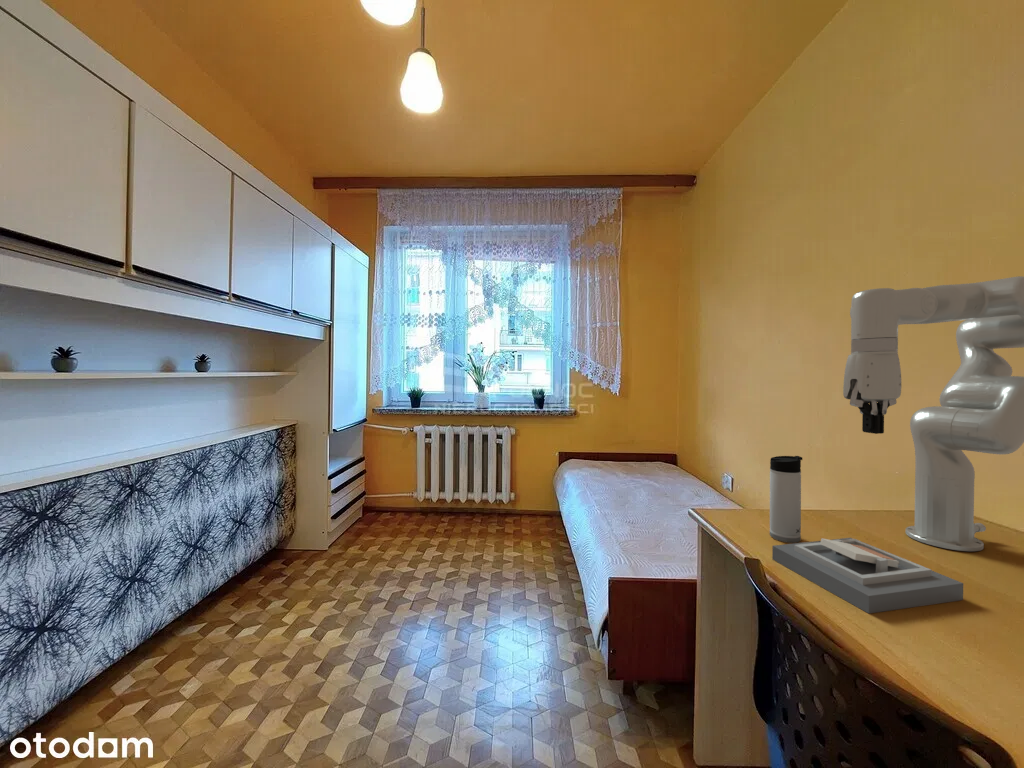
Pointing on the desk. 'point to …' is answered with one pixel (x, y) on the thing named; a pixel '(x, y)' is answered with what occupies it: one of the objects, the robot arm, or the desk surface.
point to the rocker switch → (857, 552)
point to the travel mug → (785, 498)
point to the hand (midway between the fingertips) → (872, 432)
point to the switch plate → (868, 577)
